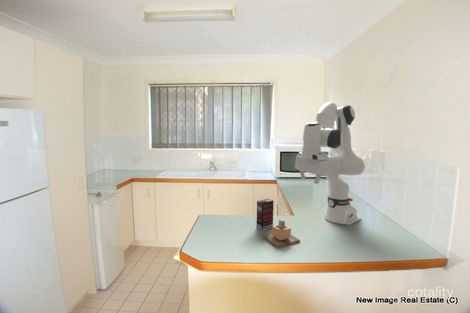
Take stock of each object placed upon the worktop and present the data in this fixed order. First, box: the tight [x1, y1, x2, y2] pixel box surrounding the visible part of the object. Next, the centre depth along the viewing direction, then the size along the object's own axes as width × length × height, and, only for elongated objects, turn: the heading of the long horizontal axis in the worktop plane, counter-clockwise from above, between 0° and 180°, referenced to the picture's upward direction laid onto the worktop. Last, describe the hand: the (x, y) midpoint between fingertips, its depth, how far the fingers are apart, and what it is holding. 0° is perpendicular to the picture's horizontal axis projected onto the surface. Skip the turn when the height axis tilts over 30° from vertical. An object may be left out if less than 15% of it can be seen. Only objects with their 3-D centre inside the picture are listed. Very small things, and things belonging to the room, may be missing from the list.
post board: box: [262, 219, 301, 249], centre depth 135 cm, size 14×12×10 cm
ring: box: [271, 223, 292, 240], centre depth 135 cm, size 7×7×5 cm
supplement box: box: [256, 198, 274, 232], centre depth 149 cm, size 9×5×16 cm, turn 126°
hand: (309, 181), depth 138 cm, fingers open, 8 cm apart
